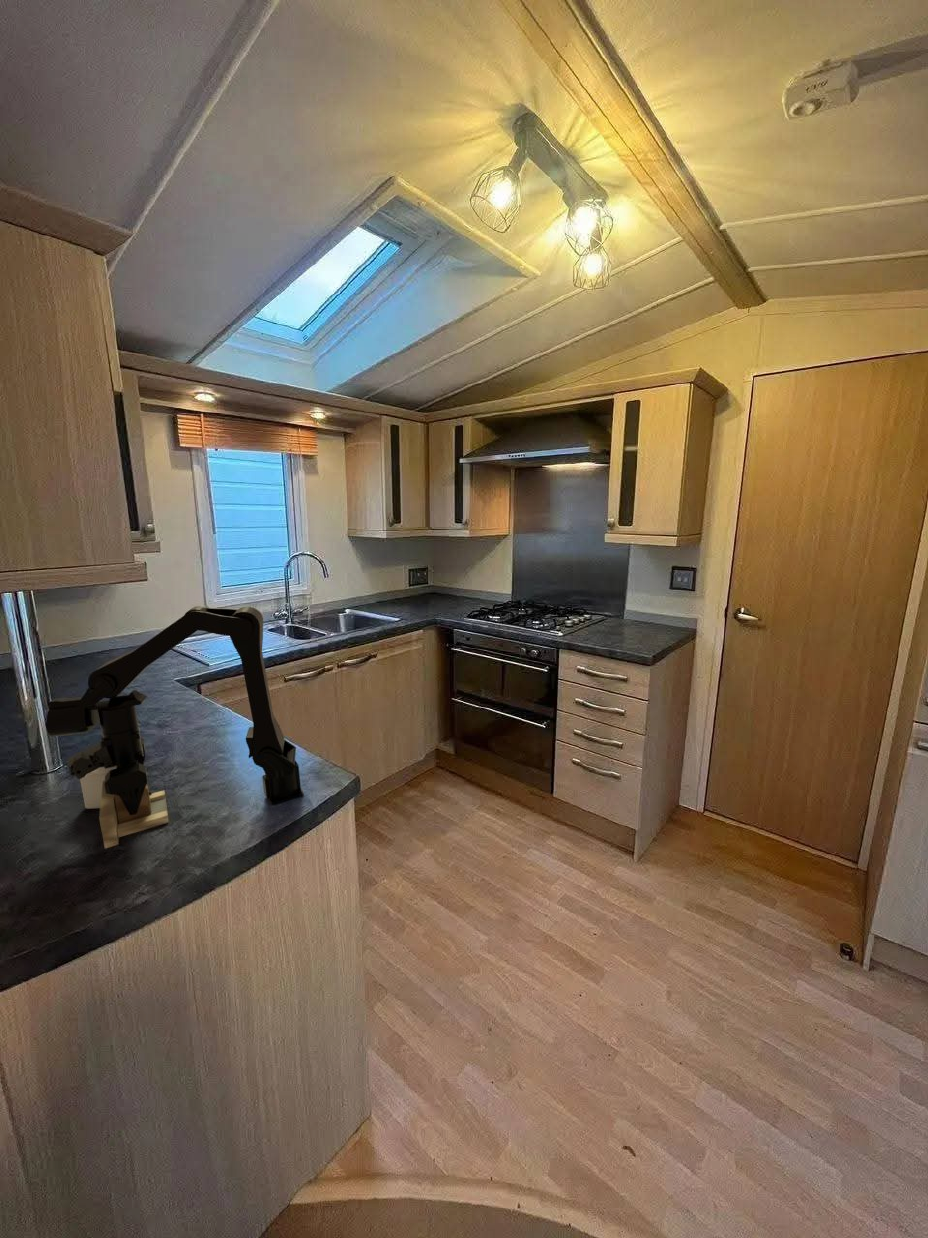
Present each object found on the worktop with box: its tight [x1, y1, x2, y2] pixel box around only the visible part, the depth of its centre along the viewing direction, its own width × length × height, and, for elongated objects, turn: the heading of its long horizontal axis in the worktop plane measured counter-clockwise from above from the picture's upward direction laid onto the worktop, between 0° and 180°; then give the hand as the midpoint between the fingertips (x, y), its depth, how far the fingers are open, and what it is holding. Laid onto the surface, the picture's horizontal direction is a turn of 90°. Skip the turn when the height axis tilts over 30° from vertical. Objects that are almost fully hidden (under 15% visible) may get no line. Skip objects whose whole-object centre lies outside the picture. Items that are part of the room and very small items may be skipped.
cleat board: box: [98, 781, 169, 850], centre depth 98 cm, size 10×16×6 cm, turn 33°
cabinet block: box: [114, 783, 152, 824], centre depth 98 cm, size 6×5×6 cm
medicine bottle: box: [79, 765, 117, 810], centre depth 104 cm, size 7×7×12 cm
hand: (133, 803), depth 98 cm, fingers open, 9 cm apart
